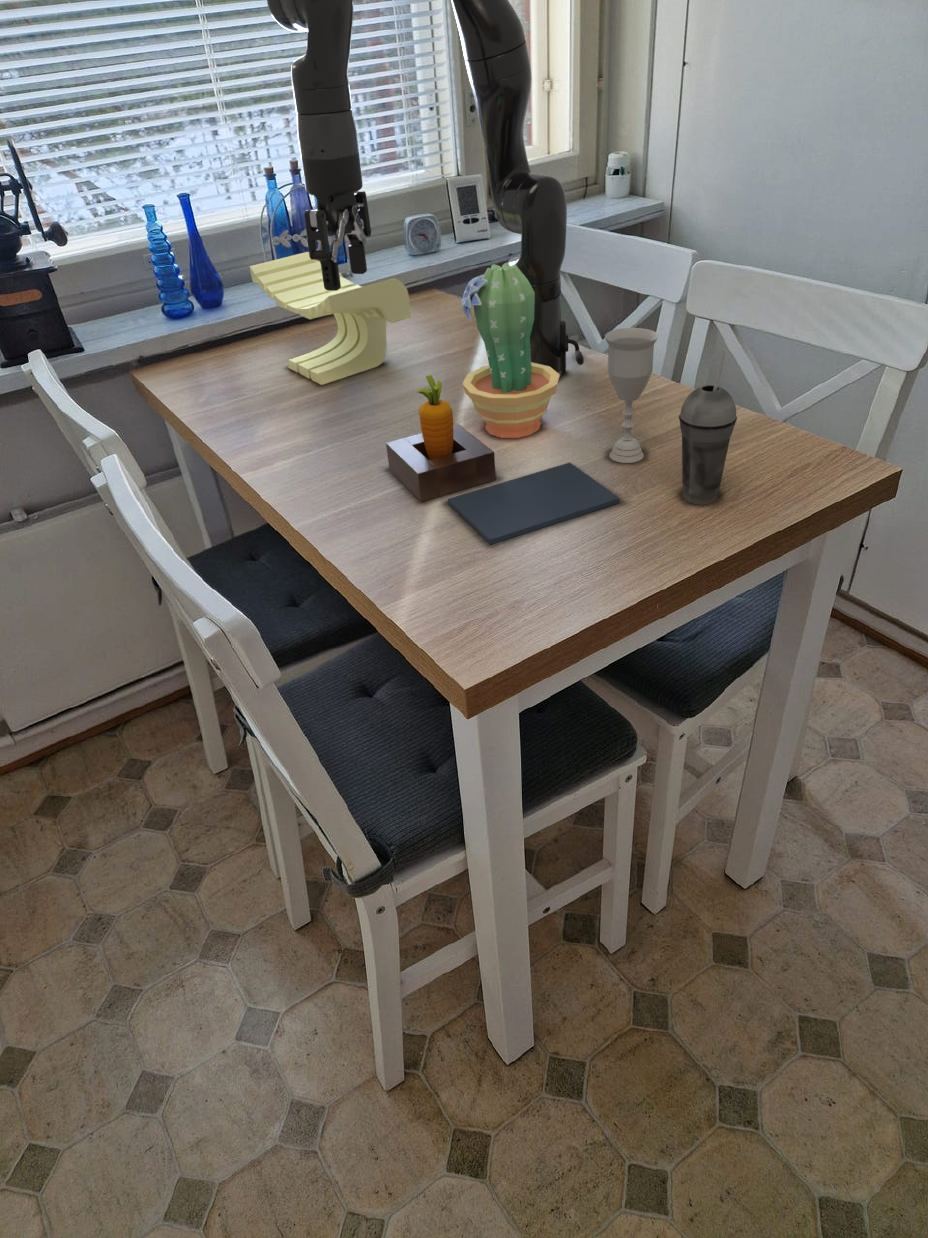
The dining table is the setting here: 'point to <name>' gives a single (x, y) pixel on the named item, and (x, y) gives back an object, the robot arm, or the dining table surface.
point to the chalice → (629, 380)
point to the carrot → (436, 421)
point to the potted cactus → (507, 354)
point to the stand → (441, 465)
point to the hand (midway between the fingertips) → (346, 281)
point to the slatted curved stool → (335, 314)
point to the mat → (531, 502)
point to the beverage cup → (705, 439)
